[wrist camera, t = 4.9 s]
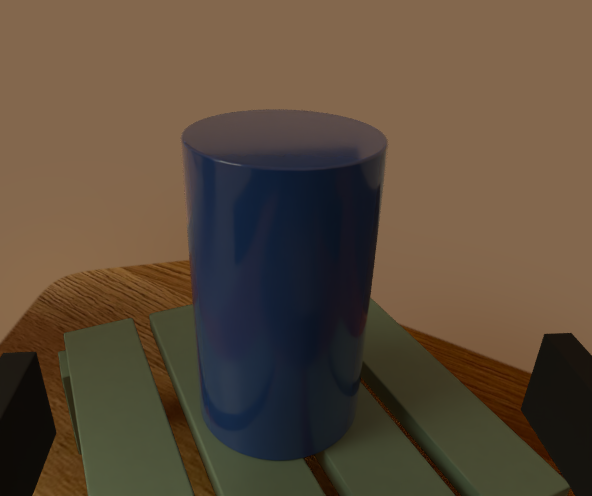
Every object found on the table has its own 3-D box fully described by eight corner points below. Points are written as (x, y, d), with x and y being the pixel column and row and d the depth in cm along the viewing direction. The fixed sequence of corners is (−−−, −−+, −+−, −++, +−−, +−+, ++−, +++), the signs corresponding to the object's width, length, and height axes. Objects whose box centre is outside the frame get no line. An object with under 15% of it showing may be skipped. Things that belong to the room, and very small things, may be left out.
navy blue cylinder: (181, 370, 23) (158, 117, 18) (312, 334, 25) (325, 103, 20) (231, 486, 18) (219, 181, 13) (388, 427, 20) (432, 152, 15)
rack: (75, 426, 28) (54, 334, 25) (339, 348, 34) (347, 268, 31) (133, 822, 15) (104, 727, 12) (537, 581, 21) (580, 480, 19)
